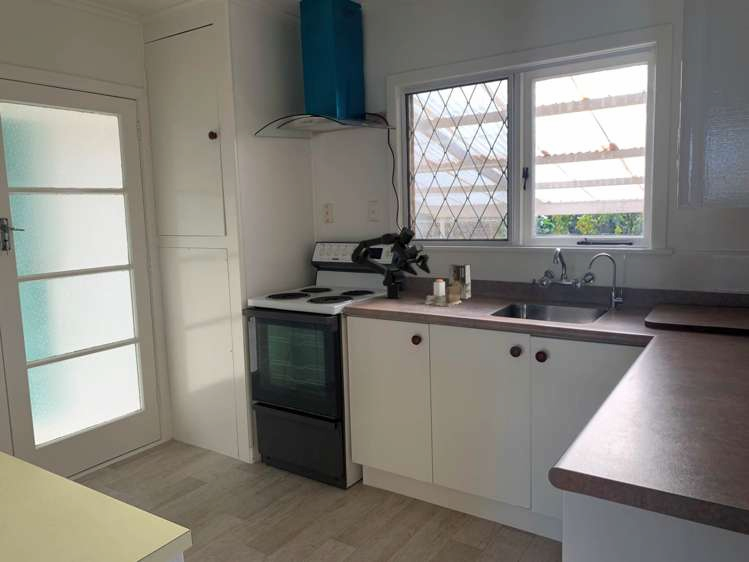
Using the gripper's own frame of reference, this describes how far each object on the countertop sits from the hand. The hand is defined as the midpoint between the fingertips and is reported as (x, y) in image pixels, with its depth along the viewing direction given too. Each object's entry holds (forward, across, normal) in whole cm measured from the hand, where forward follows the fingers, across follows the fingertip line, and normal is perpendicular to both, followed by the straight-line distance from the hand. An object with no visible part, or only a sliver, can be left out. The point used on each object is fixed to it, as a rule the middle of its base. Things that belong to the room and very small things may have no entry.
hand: (423, 273), depth 273 cm
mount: (+16, +2, +4) cm, 17 cm away
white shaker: (+14, +2, +4) cm, 14 cm away
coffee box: (+13, +20, +6) cm, 25 cm away
